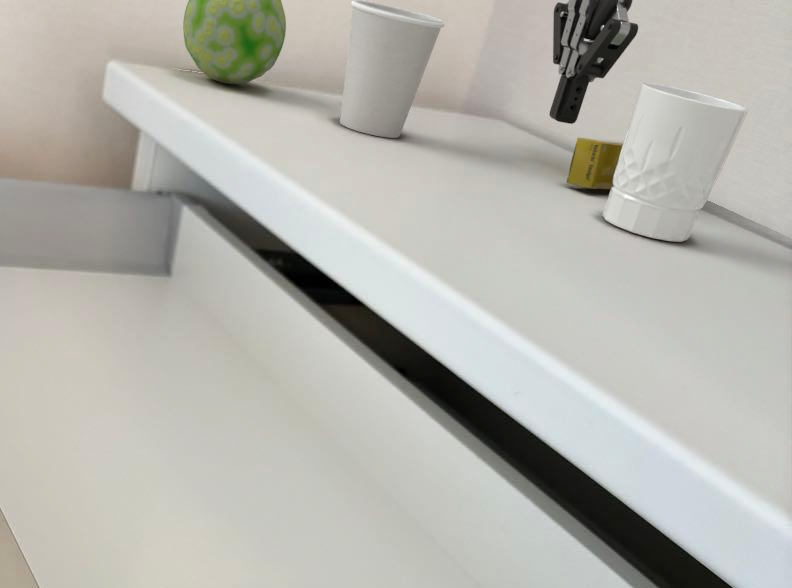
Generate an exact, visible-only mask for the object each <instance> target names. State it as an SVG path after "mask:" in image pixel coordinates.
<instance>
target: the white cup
mask: <svg viewBox="0 0 792 588" xmlns="http://www.w3.org/2000/svg"><path fill="white" fill-rule="evenodd" d="M636 98H637V99H636V101H635V105H634V107H633V111H632V115H631V118H630V121H629V124H628V127H627V130H626V134H625V137H624V140H623V141H624V143H623V146H622V149H621V152H620V156H619V161H618V164H617V167H616V170H615V173H614V177H613V185H614V186H613V187H612V188H611V189H609V193H608V197H607V199H606V203H605V206H604V209H603V213H602V216H603V217H604V220H605V221H607V222H608V223H610V224H612V225H613V226H615V227H617V228H620V229H622V230H625V231H627V232H630V233H633V234H637V235H639V236H643V237H647V238H650V239H656V240H661V241H666V242H674V243H682V242H684V241H687V240H689V238H690V236H691V233H692V232H693V230H694V226H695V225H696V222H697V220H698V218H699V215H700V213H701V211H700V210H701V209H702V208H703V207H704V206H705V204H706V203H707V201H708V200H709V197H710V195H711V192H712V189H713V188H714V185H715V184H716V182H717V180H718V178H719V177H720V174H721V172H722V170H723V168H724V166H725V163H726V161H727V158H728V157H729V155H730V152H731V150H732V148H733V146H734V143H735V141H736V139H737V137H738V134H739V133H740V131H741V128H742V126H743V124H744V121H745V119H746V117H747V115H748V112H749V109H748V108H746V107H745V106H744V105H743V106H742V105H740V104H737V103H734V102H732V101H728V100H726V99H722V98H719V97H716V96H712V95H709V94H705V93H701V92H698V91H693V90H689V89H684V88H680V87H676V86H671V85H667V84H662V83H655V82H642V83H641V86H640V89H639V92H638V95H637V97H636Z"/></svg>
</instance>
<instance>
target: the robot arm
mask: <svg viewBox="0 0 792 588" xmlns="http://www.w3.org/2000/svg"><path fill="white" fill-rule="evenodd" d="M632 4H633V0H568V1H567V2H566V3H563V2H557V3H556V4H555V6H554V9H553V27H552V28H553V31H552V32H553V35H552V38H553V39H552V41H553V42H552V49H553V50H552V62H553V64H554V65H557V66H558V74H559V75H561V76H560V78H559V81H558V83H557V88H556V91H555V94H554V97H553V100H552V102H551V103H552V104H551V107H550V110H549V117H550V118H551V119H553V120H555V121H557V122H559V123H564V124H571V125H573V124H575V123H576V122H577V121H578V118H579V114H580V111H581V109H582V105H583V102H584V100H585V96H586V93H587V90H588V87H589V84H590V83H593V82H594V81H595V79H604V78H606V76H607V74H608V73H609V72H610V71H611V70H612V68H613V67H614V65H615V64H616V63H617V61H618V60H619V59H620V57H622V56H623V54H624V53H625V51H626V50H627V48H628V47H629V46H630V44H631V43H632V41H634V39H635V38H636V36H637V34H638V32H639V24H638V23H635V22H630V21H629V16H628V12H629V10H630V9H631V7H632Z"/></svg>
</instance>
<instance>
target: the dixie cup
mask: <svg viewBox="0 0 792 588" xmlns="http://www.w3.org/2000/svg"><path fill="white" fill-rule="evenodd" d="M350 5H351V7H352V13H351V20H350V21H351V22H350V30H349V38H348V39H349V40H348V47H347V55H346V56H347V57H346V64H345V65H346V66H345V74H344V84H343V90H342V91H343V92H342V101H341V108H340V109H341V110H340V118H339V124H340V125H342V126H343V127H346V128H348V129H351V130H353V131H356V132H360V133H363V134H366V135H372V136H376V137H382V138H388V139H389V138H390V139H391V138H392V139H395V138H396V139H397V138H400V136H401V134H402V131H403V129H404V125H405V123H406V121H407V118H408V115H409V113H410V111H411V107H412V105H413V103H414V100H415V97H416V94H417V92H418V89H419V87H420V83H421V82H422V79H423V76H424V74H425V71H426V69H427V66H428V63H429V60H430V58H431V55H432V53H433V50H434V48H435V45H436V42H437V39H438V37H439V35H440V32H441V29H442V28H444V27H445V22H444V20H442V19H440V18H438V17H436V16H435V17H434V16H432V15H430V14H425V13H421V12H418V11H415V10H411V9H406V8H403V7H400V6H399V7H398V6H394V5H389V4H385V3H381V2H374V1H369V0H352V1H351V3H350Z"/></svg>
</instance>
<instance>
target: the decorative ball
mask: <svg viewBox="0 0 792 588" xmlns="http://www.w3.org/2000/svg"><path fill="white" fill-rule="evenodd" d="M182 23H183V24H182V25H183V27H182V28H183V40H184V47H185V49H186V51H187V53H188V54H189V55H190V57H191V59H192V60H193V62H194V64H195V66H196V67H197V68H198V69H199V71H201V72H202V73H203V74H205V75H206V76H207V77H208V78H210V79H212V80H214V81H217V82H219V83H222V84H228V85H243V84H247V83H250V82H251V81H253V80H255V79H258V78H260V77H262V76H264V75H265V74H266V73H267V72H268V71H270V70H271V69H272V68H273V67H274V66H275V64H276V63H277V60H278V58H279V57H280V54H281V51H282V49H283V47H284V42H285V38H286V30H287V18H286V14H285V9H284V6H283V2H282V0H188V1H187V4H186V7H185V9H184V15H183V22H182Z"/></svg>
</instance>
